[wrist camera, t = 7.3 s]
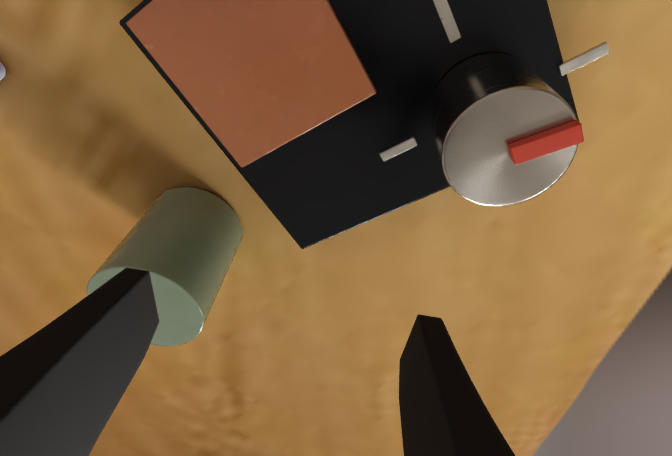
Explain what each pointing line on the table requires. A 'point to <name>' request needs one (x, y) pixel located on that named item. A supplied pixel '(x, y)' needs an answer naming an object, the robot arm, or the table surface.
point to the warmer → (392, 108)
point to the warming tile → (255, 66)
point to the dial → (501, 130)
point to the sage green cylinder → (179, 258)
